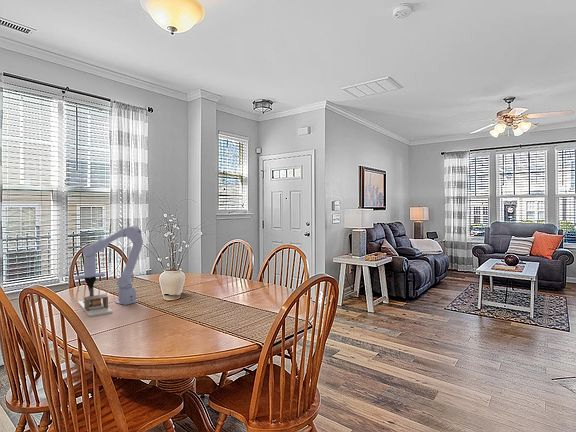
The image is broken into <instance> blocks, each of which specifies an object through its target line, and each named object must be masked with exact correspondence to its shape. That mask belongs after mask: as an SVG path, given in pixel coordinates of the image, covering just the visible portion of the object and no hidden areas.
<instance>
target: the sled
mask: <svg viewBox="0 0 576 432" xmlns="http://www.w3.org/2000/svg"><path fill="white" fill-rule="evenodd" d="M88 291H89V296H95V294H94V293H95V292H94V287H93V288H89V289H88ZM89 304H90V310H92V309H99V308H104V305H102V303H101V305H100V306H93V307H91V300H90V302H89Z"/></svg>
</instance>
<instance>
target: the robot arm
mask: <svg viewBox="0 0 576 432" xmlns="http://www.w3.org/2000/svg"><path fill="white" fill-rule="evenodd" d="M125 237H127V238H128V239H129V240H130V241H131V243H132V246H131V249H130V252H129V254H128V258H127V261H126V264H125V267H124V268H123V271H122V272H121V274H120V277H119V278H118V279H117V281H116V284H117V287H118V295H117V296H118V300H116V301H115V303H114V304H119V305H124V306H126V305H130V304H133V303H134V304H135V303H137V302H138V301H137V291H136V289H135V288H133V285H132V283H133V280H134V278H133V276H134V270H135V268H136V264H137V262H138V259H139V255H140V253H141V250H142V247H143V244H144V239H143V235H142V230H141V229H140V228H139V226H137V225H131V226H127V227H126V228H122V229H120V230H118V231H117V232H116V231H115V233H113V234H112V235H110V236H108V237H106V238H104V237H101V238H97V239H96V241H95V242H91V243H89V245H86V246H85V247H84V248H82V251H81V253H82V254H83V273H84V274H78V275H74V280H75V281H78V280H84V281H85V283H86V285H87V287H88V288H87V289H88V290H89V288H94V285H95V283H96V281H97V278H103V277H105V275H106V273H105V272H98V273H97V265H96V264H97V263H96V261H97V259H96V254H97V253H99V252H100V251H103V250H104V249H106V248H108V246H109V245H110V244H111V243H112V242H114V241H116V240H118V239H120V238H125Z"/></svg>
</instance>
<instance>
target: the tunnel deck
mask: <svg viewBox="0 0 576 432" xmlns="http://www.w3.org/2000/svg"><path fill="white" fill-rule="evenodd" d="M83 298H84V299H83V300H78V301H77V304H78V305H79V306H80V308H81V307H82V308H81V309H82V310H83V312H84V313H85V314H86V315H87V317H89V318H90V317H96V316H102V315H103V316H104V315H107V314H112V313H113V310H112V309H111V308H110V307H109V296H108V295H106V294H105V293H104V294H102V293H101V294H98V295H96V294H94V296H90V295H89V296H88V295H87V296H84V297H83ZM96 299H101V303H102V305H104V308H99V309H92V310H90V304H89V302H90V300H96Z"/></svg>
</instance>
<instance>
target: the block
mask: <svg viewBox="0 0 576 432" xmlns="http://www.w3.org/2000/svg"><path fill="white" fill-rule="evenodd" d="M101 301H102V299H96V300H91V307H93V306H100V305H101Z"/></svg>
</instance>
